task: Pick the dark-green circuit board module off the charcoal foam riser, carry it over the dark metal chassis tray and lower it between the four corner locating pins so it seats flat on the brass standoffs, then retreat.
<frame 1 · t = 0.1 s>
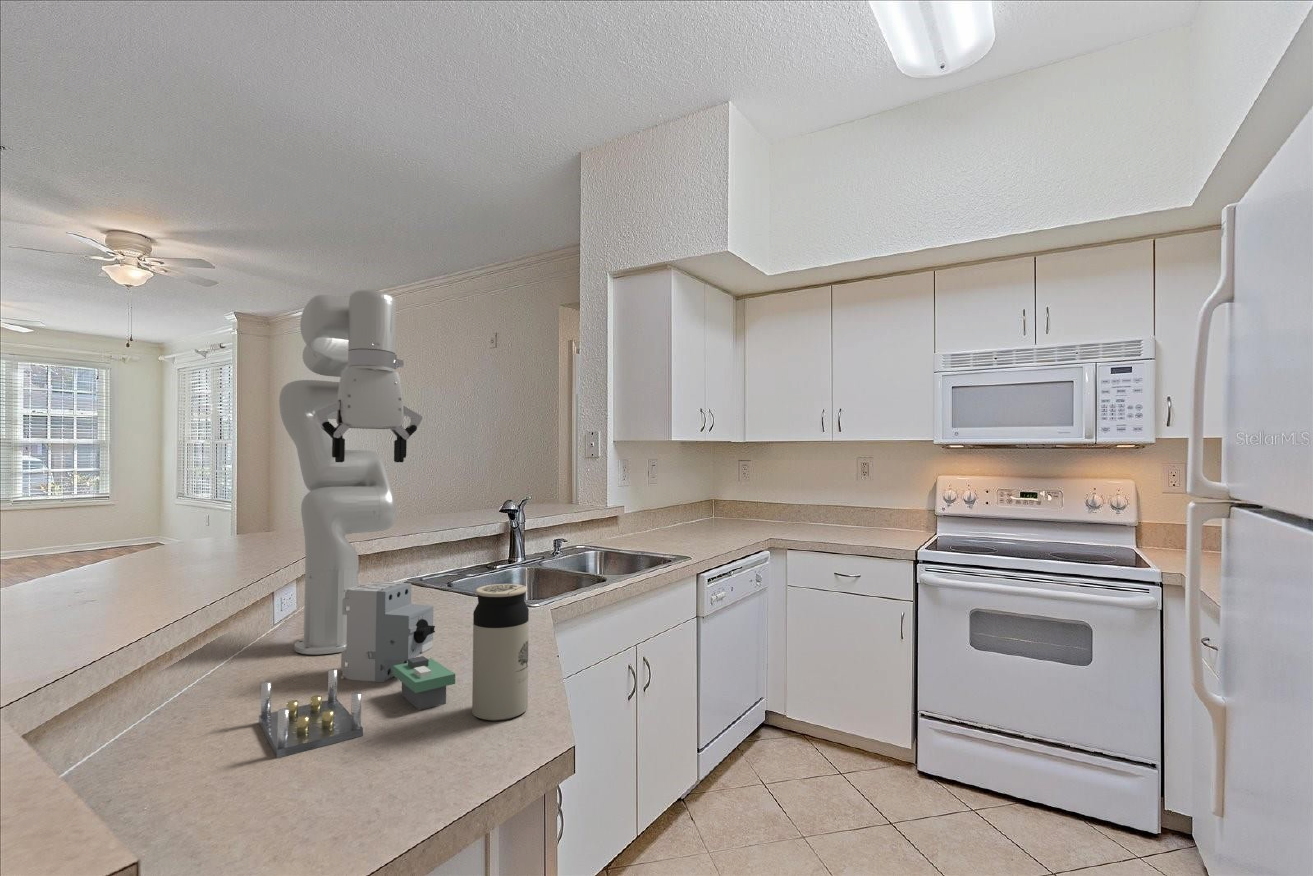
hand: (370, 462, 109), 37 cm above the countertop, tool pointing down, fingers open, 9 cm apart
riser: (423, 699, 98), on the countertop
board: (423, 679, 98), point 3 cm above the countertop, touching riser
travel mug: (500, 712, 94), on the countertop
circuit breaker: (392, 675, 110), on the countertop
chassis: (309, 729, 87), on the countertop
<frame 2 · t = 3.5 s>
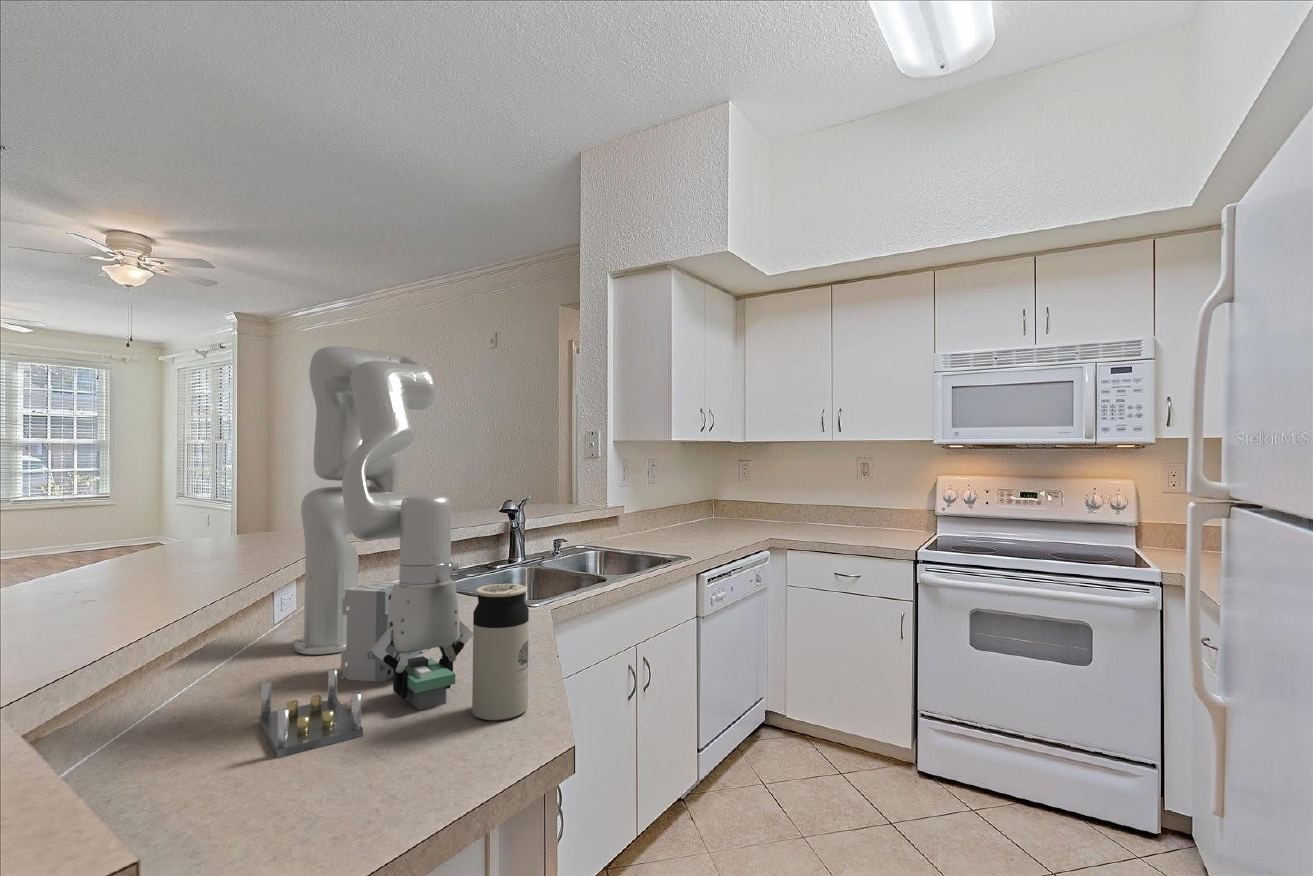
hand: (423, 690, 98), 1 cm above the countertop, tool pointing down, fingers closed on board, 6 cm apart
board: (423, 679, 98), point 3 cm above the countertop, touching gripper, riser
everything else where it was.
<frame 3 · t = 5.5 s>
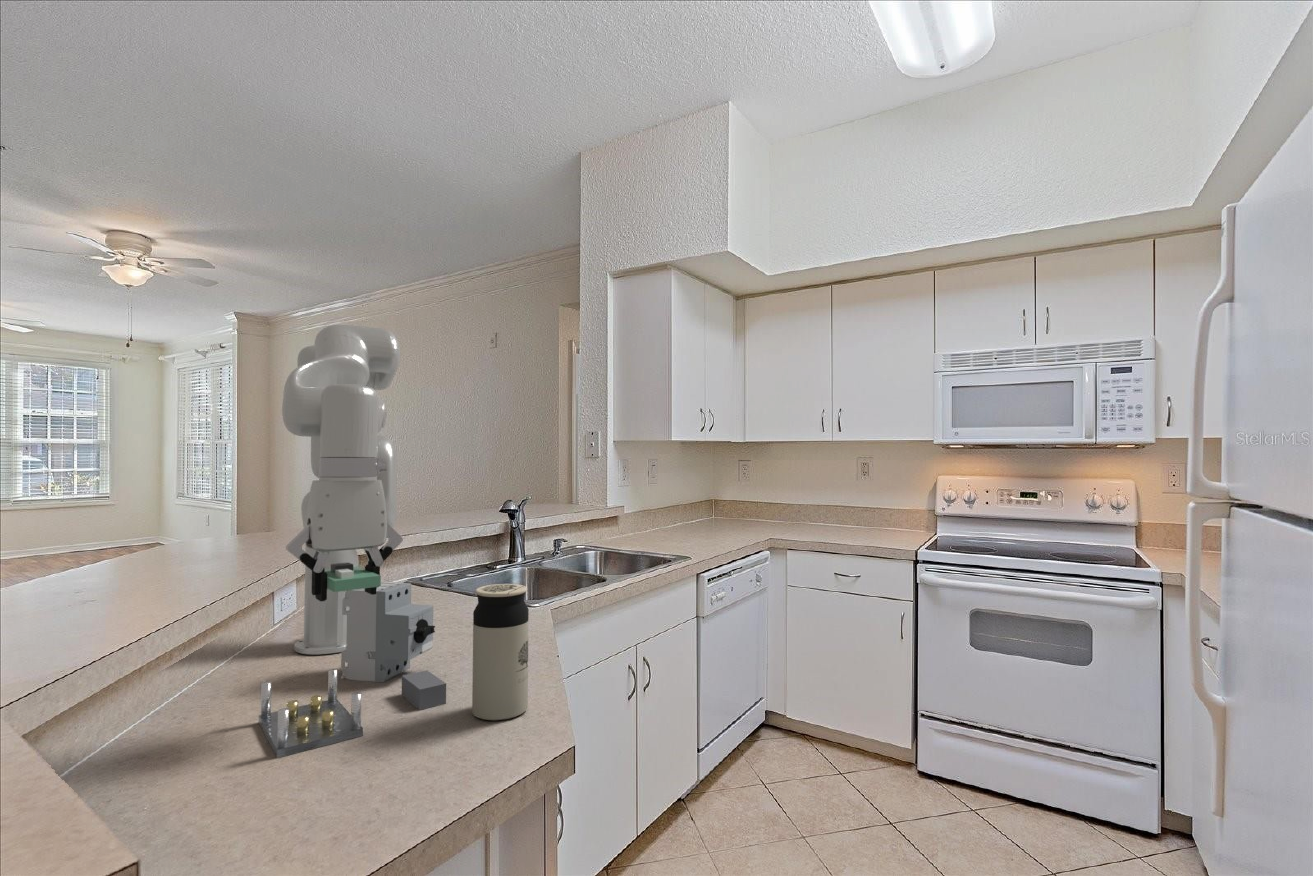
hand: (346, 595, 91), 18 cm above the countertop, tool pointing down, fingers closed on board, 6 cm apart
board: (346, 584, 91), point 19 cm above the countertop, touching gripper
everything else where it was.
when the fingers open (3 cm above the countertop, at t = 8.0 s): board drops 2 cm, resting on chassis.
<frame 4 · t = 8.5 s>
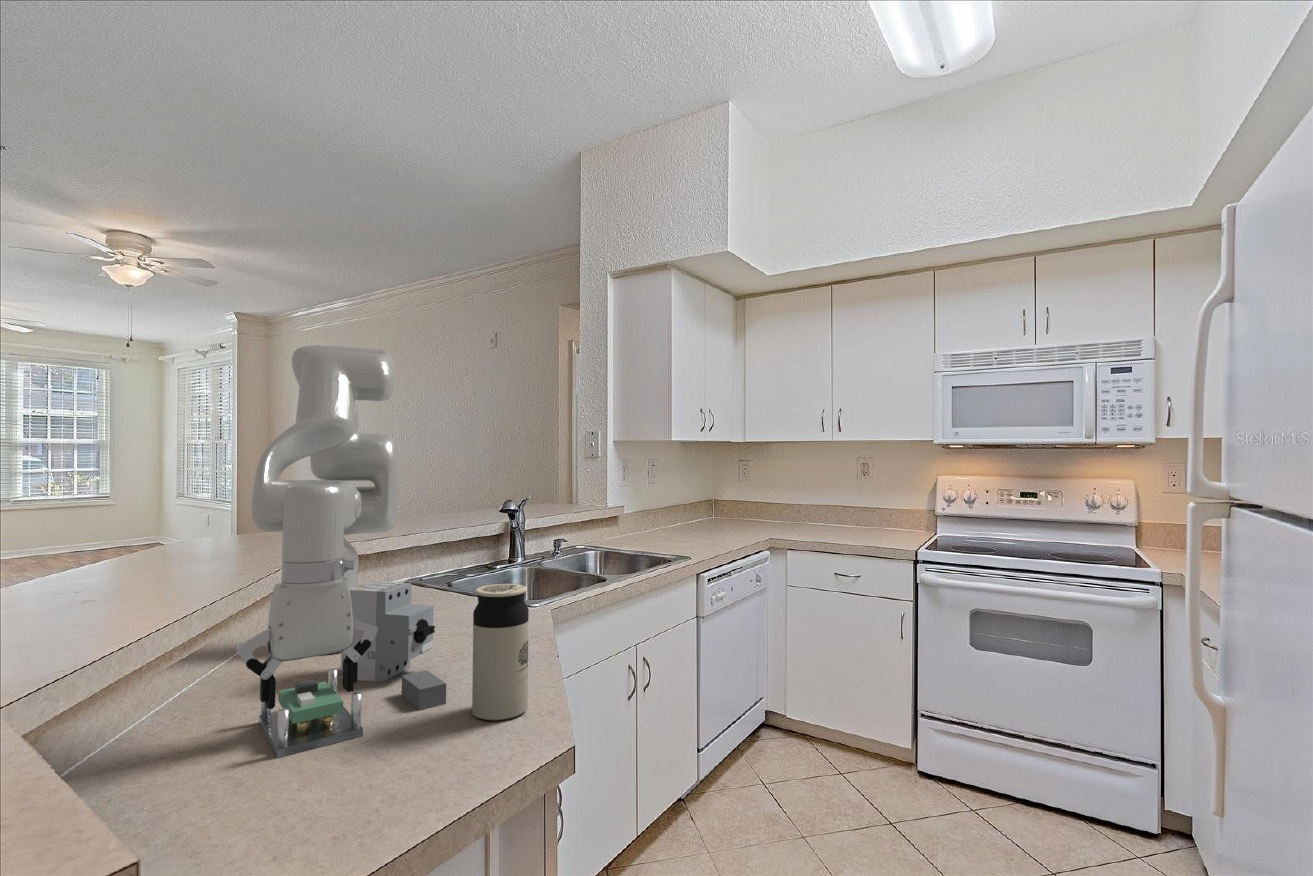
hand: (310, 697, 87), 4 cm above the countertop, tool pointing down, fingers open, 9 cm apart
board: (310, 706, 87), point 3 cm above the countertop, touching chassis
everything else where it was.
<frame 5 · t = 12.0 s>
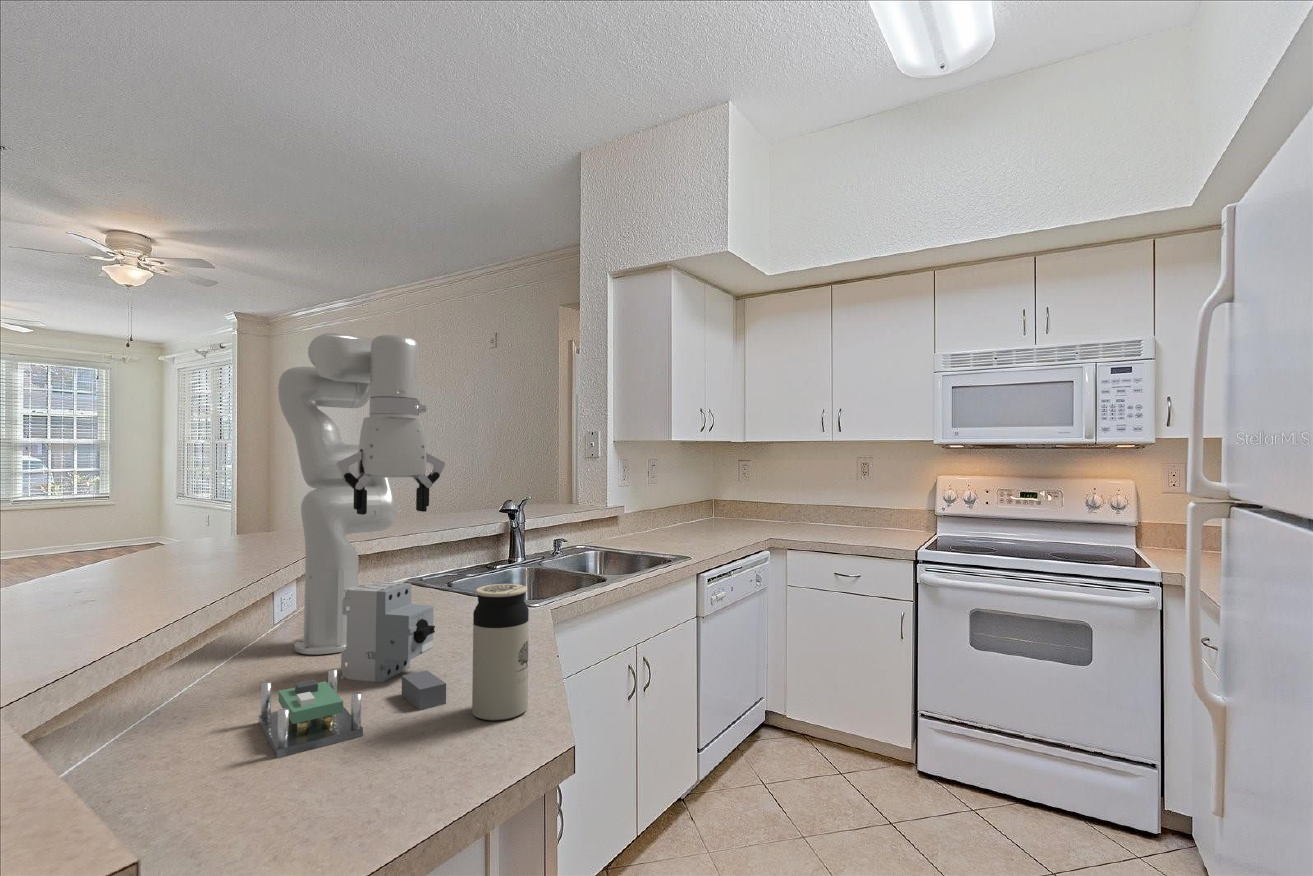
hand: (392, 512, 106), 28 cm above the countertop, tool pointing down, fingers open, 9 cm apart
nothing on the countertop moved.
at the end: board 0.0 cm off-centre on the chassis, point 3.0 cm above the chassis's base; board tilted 0°; the gripper is holding nothing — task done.
